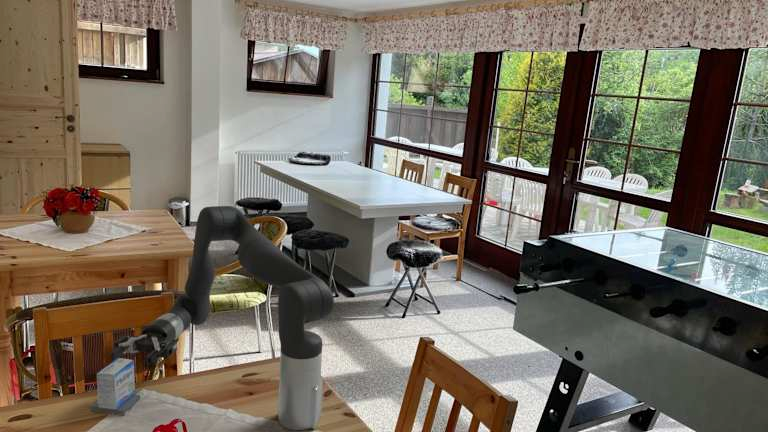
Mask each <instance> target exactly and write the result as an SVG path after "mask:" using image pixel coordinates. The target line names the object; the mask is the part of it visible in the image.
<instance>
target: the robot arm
mask: <svg viewBox="0 0 768 432" xmlns="http://www.w3.org/2000/svg"><path fill="white" fill-rule="evenodd" d="M217 241H218V242H219V241H223V242H224V241H233V242H235V243H237V245H238V248H237V258H238V262H239V264H240V265H241V266H242V268H243V269H244V270H245V271H246V272H247V273H248V274H249V275H250V276H251V277H252V278H253V279H255V280H257V281H259V282H261V283H264V284H266V285H269V286H272V287H276V288H280V290H279V293H278V300H277V304H278V305H277V315H278V337H279V342H280V355H279V356H280V357H279V382H278V383H279V384H278V386H279V387H278V388H279V389H278V411H277V414H278V417H277V419H278V423H279V424H280V425H281V426H282V427H283V428H285V429H288V430H291V431H292V430H293V431H304V430H309V429H311V430H312V429H313V430H314V429H316V427H317V425H318V423H319V420H320V418H321V415H322V407H323V406H322V405H323V404H322V403H323V402H322V401H323V381H324V379H323V377H322V360H323V359H322V358H323V357H322V356H323V339H322V337H321V336H320V335H319V334H317V333H315V332H313V331H310V330H305V324H309V323H312V322H316V321H319V320H323V319H325V318H327V317H329V316H330V315H331V314H332V312H333V310H334V307H335V299H334V296H333V292H332V290H331V289H330V287H329V286H328V284H327V283H326V282H324V280H323V279H321V278H320V277H318V276H316V275H315V274H314V273H312V272H310V271H309V270H307V269H305V268H303V267H302V266H301V265H300V264H298V263H297V262H296V261H295V260H294V259H292V258H291V257H290V256H288V255H287V254H285V252H283V251H282V250H281V249H280V248H279V247H278V246H277V245H276V244H274V243H273V242H272V241H271V240H270V239H268V238H267V237H266V236H264V235H263V234H262V233H261V231H259V230H258V229H257V228H256V227H255V226H254V225H253V224H252V223H251V222H250V221H249V220H248V218H247V217H246V216H245V215H244V213H243V212H242V211H240V209H239V208H237V207H235V206H232V205H220V206H217V205H216V206H206V207H203V208H202V209H201V210H200V212H199V214H198V216H197V221H196V227H195V232H194V241H193V250H192V259H191V265H190V269H189V273H188V275H187V279H186V281H185V285H184V293H179V295H178V296H176V298H175V299H174V301H173V303H174V306H173V307H172V306H171V307H172V308H171V307H170V309H169V310H168V311H167V312H165V313H164V314H163V315H160V316H159V317H157V318H156V319H155V320H153V321H152V322H151V323H149V324H148V325H147V326H146V327H144V329H143V330H142V331H141V333H140V334H139V335H136V336H135V337H134V336H131V334H130V333H126V334H124V335H122V336H121V337H120V338H118V339H116V340H114V341H113V344H112V345H113V350H112V351H111V353H110V358H111V361H114V360H116V359H117V358H121V357H122V356H123V355H125V354H128V353H130V354H131V355H132V354H135V353H139V352H141V353H142V352H144V353H148V354H147V355H146V356H145V357H144V359H145V361H144V362H145V365H146V366H150V365H151V364H153V363H155V362H156V361H157V360H160V359H161V358H163V360H168V359H169V358H170V357H171V356H172V355H173V354H174V353H175V352H176V351H177V350H178V343H177V339H178V338H180V336H181V334H183V333H184V332H186V330H187V329H188V328H189V327H190V326H191V324H192V325H194V326H200V325H202V324H204V323H205V322H206V321H207V320H208V318H209V316H210V312H211V298H210V297H211V289H212V287H213V283H214V281H215V278H216V277H215V276H216V268H215V265H214V262H213V260H212V258H211V256H210V253H209V248H210V244H211V243H212V242H217ZM126 347H127V348H126ZM134 347H135V348H134ZM125 348H126V349H125Z"/></svg>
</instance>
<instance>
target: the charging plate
mask: <svg viewBox="0 0 768 432" xmlns="http://www.w3.org/2000/svg"><path fill="white" fill-rule="evenodd" d="M140 399H141V394H135V393H134V394H133V395H132V396H131V397H130V398H129V399H127V400H126V401H125V402H124V403H123V404H122V405H121V406H120V407H119V408H118V409H117V410H114V409H106V408H100V407H98V399H97V400H96V401H95V402H93V403H92V404H91V405H90V411H91V412H96V413H104V414H110V415H111V414H112V413H113V414H112V415H116V414H122V415H121V416H123V415H124V414H125V413H126V412H127V411H128V410H129V411H131V410H132V409H133V408H134V407H135V406H136V405H137V404H138V403H139V402H140V401H141V400H140ZM139 400H140V401H139ZM138 401H139V402H138ZM137 402H138V403H137ZM136 403H137V404H136ZM135 404H136V405H135ZM134 405H135V406H134ZM133 406H134V407H133ZM132 407H133V408H132ZM131 408H132V409H131ZM129 411H128V412H129ZM128 412H127V413H128ZM127 413H126V414H127ZM126 414H125V415H126ZM125 415H124V416H125Z"/></svg>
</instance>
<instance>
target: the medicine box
mask: <svg viewBox="0 0 768 432" xmlns="http://www.w3.org/2000/svg"><path fill="white" fill-rule="evenodd" d="M96 383H97V384H96V385H97V388H96V389H97V400H98V407H100V408H106V409H114V410H117V409H118V408H119V407H120V406H121V405H122V404H123V403H124V402H125V401H126V400H127V399H129V398H130V397H131V396H132V395H133V394H135V392H136V387H135V386H136V385H135V383H136V382H135V360H134V359H128V358H121V357H119V358H117V359H116V360H112V362H111V363H108V365H106V366H104V368H103V369H101V370H99V371H98V372H97V373H96Z"/></svg>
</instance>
